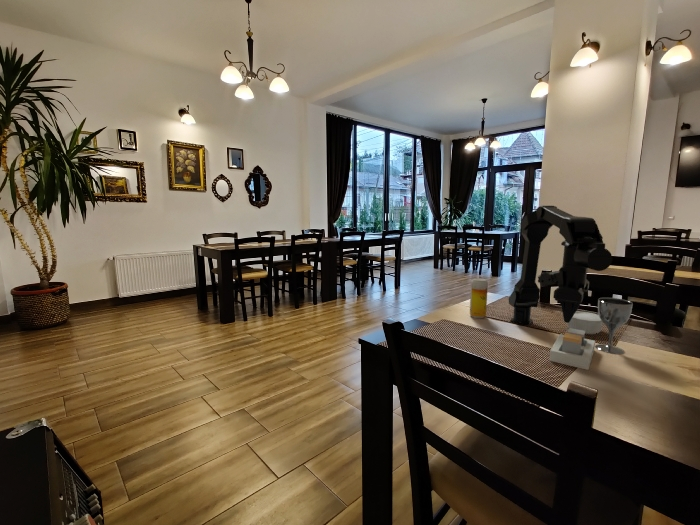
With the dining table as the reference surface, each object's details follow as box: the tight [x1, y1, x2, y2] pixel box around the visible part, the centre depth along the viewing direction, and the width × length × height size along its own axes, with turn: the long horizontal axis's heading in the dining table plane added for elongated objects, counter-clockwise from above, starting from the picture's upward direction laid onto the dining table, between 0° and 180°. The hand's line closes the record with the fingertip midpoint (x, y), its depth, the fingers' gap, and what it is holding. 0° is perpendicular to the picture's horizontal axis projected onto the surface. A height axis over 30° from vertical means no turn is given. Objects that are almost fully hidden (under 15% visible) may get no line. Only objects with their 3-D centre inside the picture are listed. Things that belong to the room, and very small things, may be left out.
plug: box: [562, 332, 582, 355], centre depth 93 cm, size 4×4×6 cm
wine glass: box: [594, 297, 634, 355], centre depth 100 cm, size 8×8×15 cm
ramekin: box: [566, 310, 604, 335], centre depth 117 cm, size 11×11×5 cm
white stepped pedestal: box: [549, 328, 596, 371], centre depth 96 cm, size 16×9×6 cm, turn 140°
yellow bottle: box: [469, 277, 489, 319], centre depth 132 cm, size 6×6×15 cm
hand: (569, 317), depth 95 cm, fingers open, 9 cm apart
